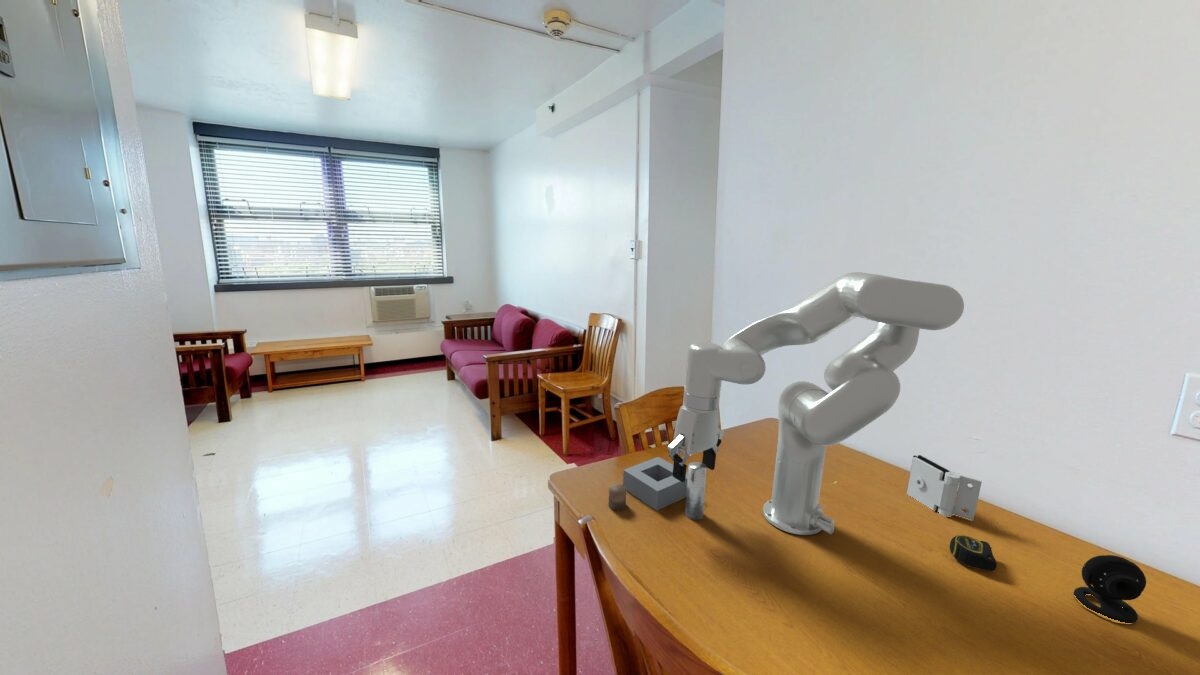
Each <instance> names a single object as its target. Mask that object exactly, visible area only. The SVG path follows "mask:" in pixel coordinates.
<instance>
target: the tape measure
mask: <svg viewBox="0 0 1200 675" xmlns="http://www.w3.org/2000/svg"><path fill="white" fill-rule="evenodd" d="M949 552H950V553H951V555H952V556H953V558H954V559H955V560H957V561H958V562H960V563H961V564H963V565H966V566H967V567H969V566H970V567H969V568H972V567H973V569H977V570H983V571H987V572H995V571H996V570H997V568H998V567H997V566H998V563H997V560H996V558H995V556H994V553H993V550H992V547H991V545H990V543H989V542H987V541H984V540H979V539H976V538H975V537H972V536H968V535H961V534H958V535H955V536H954V537H952V538H951V540H950V543H949Z"/></svg>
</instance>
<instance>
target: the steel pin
mask: <svg viewBox="0 0 1200 675" xmlns="http://www.w3.org/2000/svg"><path fill="white" fill-rule="evenodd" d="M707 469H708V468H707V466H706V465H705V464H703V463H702V462H700V461H691V462H689V463H688V468H687V473H688V479H687V494H686V497H685V498H686V499H685V510H684V513H685V516H686V518H688V519H689V520H693V521H699V520H702V519H703V518H704V511H705V510H704V508H705V497H706V495H705V494H706V484H707V483H706V482H707Z"/></svg>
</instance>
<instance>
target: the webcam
mask: <svg viewBox="0 0 1200 675" xmlns="http://www.w3.org/2000/svg"><path fill="white" fill-rule="evenodd" d="M1081 577H1082V580H1083V582H1084V584H1085V585H1086V586H1080V587H1076V588H1074V591H1073V596H1074V595H1075V596H1076V598H1077V599H1078V600H1079V601H1080V602H1081V603H1082V604H1083V605H1085V606H1086V607H1087V608H1089V609H1091V610H1093V611H1095V612H1097V613H1100V614H1102V615H1104V616H1107V617H1108V618H1111V619H1114V620H1118V621H1120V622H1125V623H1133V624H1135V623H1137V622H1138V620H1139V615H1138V613H1137V611H1136V610H1135V609H1134V608H1133V607H1132V606H1131V605H1130V604H1129V603H1127V602H1126V601H1132V600H1135V599H1138V598H1139V597H1141V595H1142V593H1143V592H1144V590H1145V588H1146V586H1147V578H1146V575H1145V573H1144V572H1143V571H1142V570H1141V568H1140V567H1139V566H1138V565H1137V564H1136V563H1134V562H1132V561H1130V560H1129V559H1127V558H1125V557H1122V556H1118V555H1111V554H1106V555H1105V554H1103V555H1102V554H1101V555H1100V554H1099V555H1096V556H1093V557H1091V558H1089V559H1088V560H1087V561H1086V562H1085V563H1084V564H1083V566H1082V568H1081ZM1086 594H1091V595H1093V596H1094V597H1093V596H1092V597H1093V598H1095V599H1096V601H1097V602H1098V603H1099V605H1100V606H1099V605H1096V604H1094V603H1093V602H1091V601H1090V600H1089V599H1087V596H1085V595H1086ZM1122 607H1123V608H1122ZM1136 621H1137V622H1136ZM1134 622H1135V623H1134Z"/></svg>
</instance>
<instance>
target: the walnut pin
mask: <svg viewBox="0 0 1200 675" xmlns="http://www.w3.org/2000/svg"><path fill="white" fill-rule="evenodd" d="M626 503H627V491H626V487H625V486H624V485H623V483H622V484H621V483H613V484H611V485H609V487H608V508H609V509H610V510H613V511H615V512H616V511H617V512H618V511H623V510H624V509H626V508H627V507H626V506H627V504H626Z"/></svg>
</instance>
